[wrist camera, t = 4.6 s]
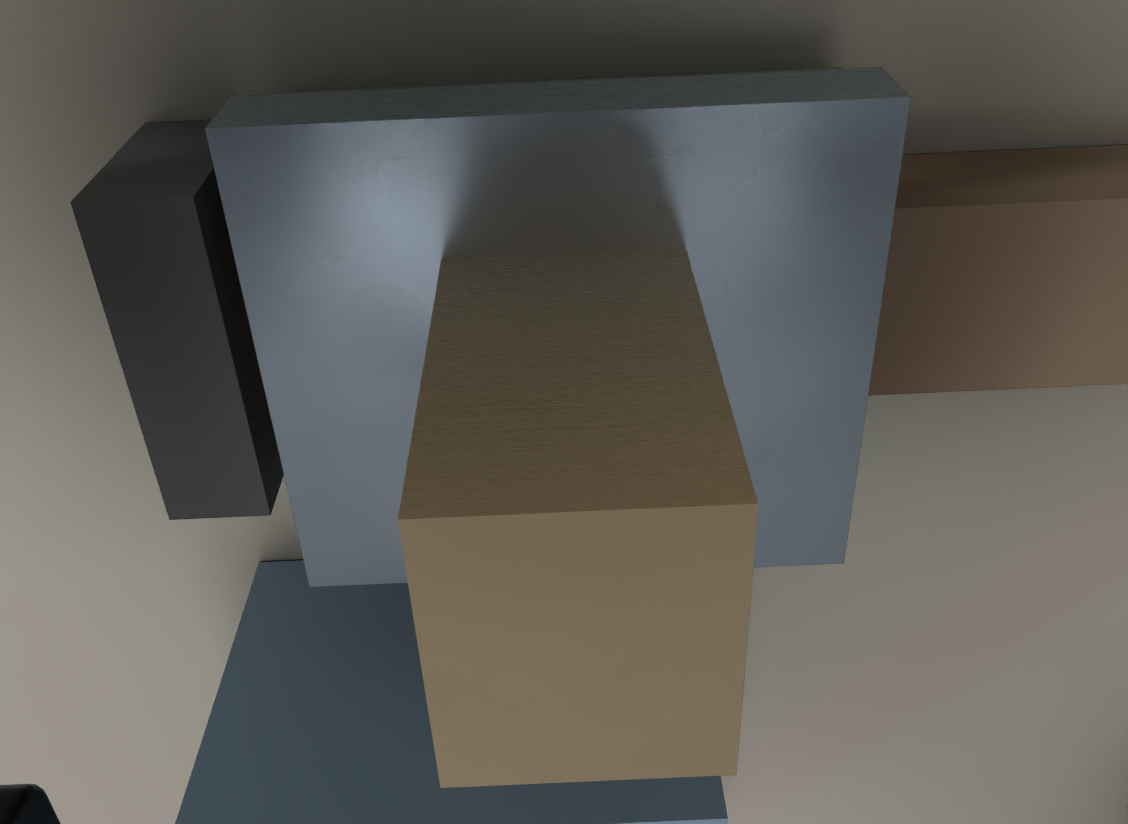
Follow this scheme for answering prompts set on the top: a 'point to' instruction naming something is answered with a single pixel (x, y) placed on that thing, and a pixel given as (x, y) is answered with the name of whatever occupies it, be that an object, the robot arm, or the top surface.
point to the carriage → (569, 379)
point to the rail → (904, 336)
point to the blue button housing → (369, 728)
